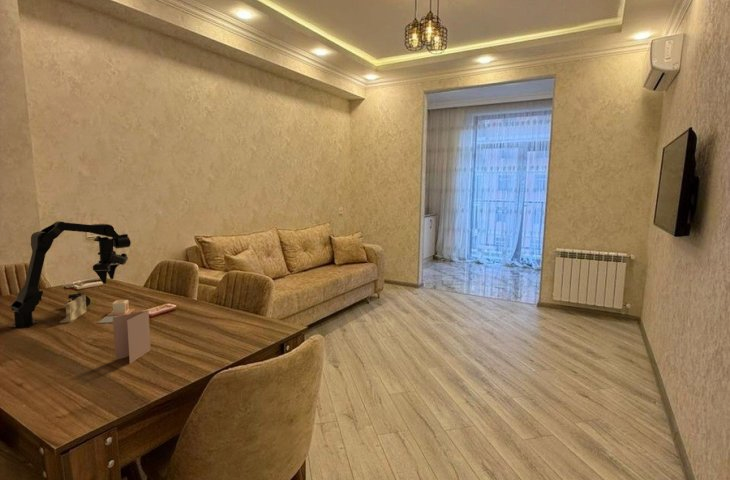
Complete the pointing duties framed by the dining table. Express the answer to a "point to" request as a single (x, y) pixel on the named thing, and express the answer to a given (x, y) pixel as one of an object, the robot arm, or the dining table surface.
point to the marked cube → (120, 306)
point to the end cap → (78, 296)
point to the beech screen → (75, 309)
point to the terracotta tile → (121, 314)
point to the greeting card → (131, 335)
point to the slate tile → (107, 319)
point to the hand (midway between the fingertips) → (108, 281)
